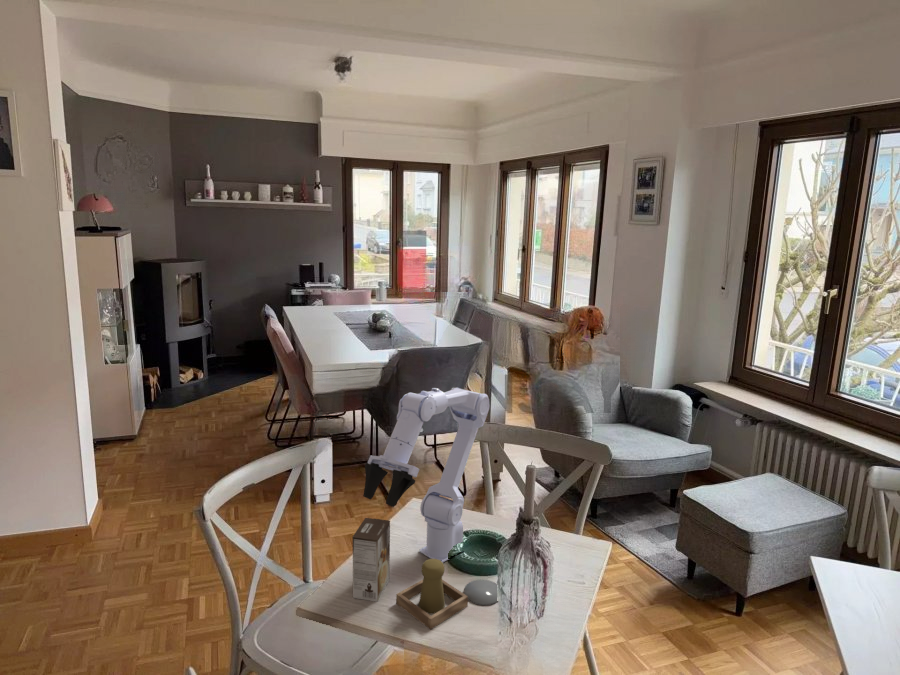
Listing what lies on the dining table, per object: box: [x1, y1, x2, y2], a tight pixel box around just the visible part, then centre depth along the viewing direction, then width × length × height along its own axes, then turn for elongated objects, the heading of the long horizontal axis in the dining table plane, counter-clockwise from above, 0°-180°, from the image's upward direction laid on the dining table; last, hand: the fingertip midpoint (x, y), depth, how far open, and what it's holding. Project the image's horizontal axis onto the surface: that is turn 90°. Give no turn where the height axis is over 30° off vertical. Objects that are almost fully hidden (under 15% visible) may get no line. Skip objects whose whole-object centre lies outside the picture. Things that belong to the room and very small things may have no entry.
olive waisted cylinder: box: [418, 558, 446, 615], centre depth 140 cm, size 6×6×11 cm
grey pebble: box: [463, 579, 498, 606], centre depth 147 cm, size 9×9×1 cm
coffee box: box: [352, 517, 391, 602], centre depth 145 cm, size 9×6×16 cm
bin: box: [395, 579, 469, 630], centre depth 141 cm, size 12×12×2 cm
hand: (378, 501), depth 134 cm, fingers open, 7 cm apart
